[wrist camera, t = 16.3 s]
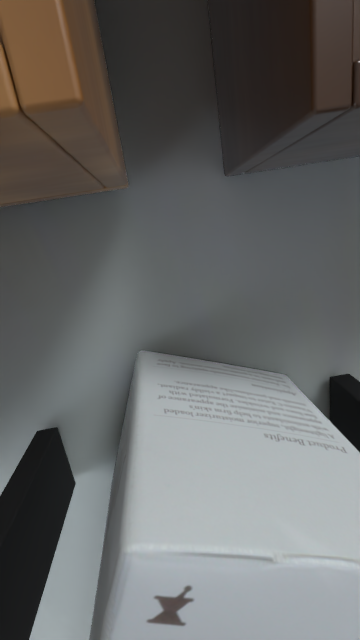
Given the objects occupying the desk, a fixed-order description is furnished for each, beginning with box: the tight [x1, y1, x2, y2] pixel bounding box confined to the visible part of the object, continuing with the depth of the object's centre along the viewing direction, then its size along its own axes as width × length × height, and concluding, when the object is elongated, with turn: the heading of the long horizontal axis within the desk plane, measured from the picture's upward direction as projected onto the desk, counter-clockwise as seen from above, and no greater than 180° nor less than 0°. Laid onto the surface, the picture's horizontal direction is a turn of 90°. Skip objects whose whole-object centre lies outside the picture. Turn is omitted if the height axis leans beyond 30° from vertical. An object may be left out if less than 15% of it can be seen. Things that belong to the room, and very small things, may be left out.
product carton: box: [89, 350, 360, 640], centre depth 9 cm, size 6×6×7 cm
